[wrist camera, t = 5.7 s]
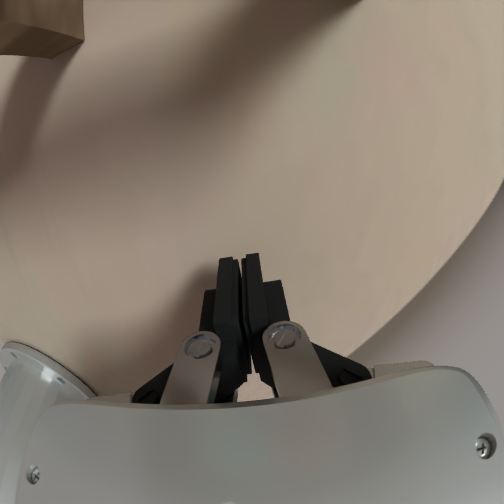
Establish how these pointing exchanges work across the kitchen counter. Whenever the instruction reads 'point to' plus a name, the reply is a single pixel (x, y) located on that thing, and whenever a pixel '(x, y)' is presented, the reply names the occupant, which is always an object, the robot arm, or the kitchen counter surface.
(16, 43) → the bridge
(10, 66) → the kitchen counter surface
